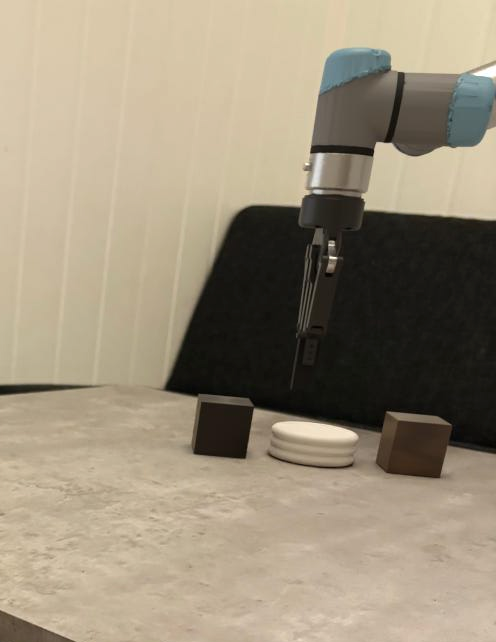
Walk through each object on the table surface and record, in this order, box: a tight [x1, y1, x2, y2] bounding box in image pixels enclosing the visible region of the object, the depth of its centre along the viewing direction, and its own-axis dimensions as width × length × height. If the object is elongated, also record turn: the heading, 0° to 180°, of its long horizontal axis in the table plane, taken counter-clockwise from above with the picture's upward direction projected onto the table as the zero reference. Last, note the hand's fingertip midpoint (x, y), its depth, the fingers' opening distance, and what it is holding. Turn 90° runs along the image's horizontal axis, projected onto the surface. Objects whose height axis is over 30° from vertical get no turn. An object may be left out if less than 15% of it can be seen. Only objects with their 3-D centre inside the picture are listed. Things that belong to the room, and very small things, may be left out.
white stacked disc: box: [267, 420, 359, 468], centre depth 119 cm, size 10×10×4 cm
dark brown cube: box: [191, 393, 255, 460], centre depth 119 cm, size 6×6×6 cm
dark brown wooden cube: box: [375, 411, 453, 479], centre depth 117 cm, size 6×6×6 cm
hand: (301, 390), depth 133 cm, fingers closed
